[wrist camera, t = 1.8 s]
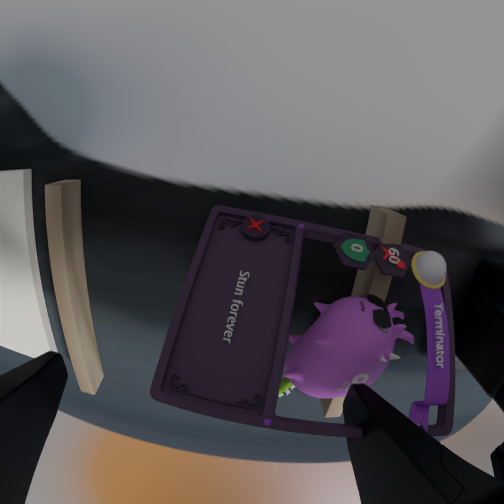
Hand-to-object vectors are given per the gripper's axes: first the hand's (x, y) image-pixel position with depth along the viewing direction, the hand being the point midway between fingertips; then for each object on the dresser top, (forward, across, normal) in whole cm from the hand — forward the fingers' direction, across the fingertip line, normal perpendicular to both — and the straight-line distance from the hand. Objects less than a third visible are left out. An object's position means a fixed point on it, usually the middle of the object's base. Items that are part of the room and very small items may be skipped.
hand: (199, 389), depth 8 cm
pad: (+5, +13, 0) cm, 14 cm away
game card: (+3, +1, -1) cm, 3 cm away
